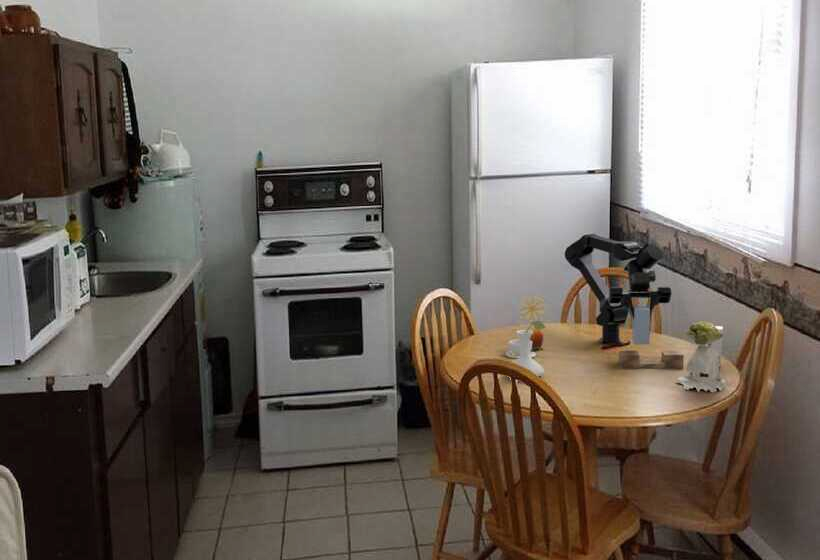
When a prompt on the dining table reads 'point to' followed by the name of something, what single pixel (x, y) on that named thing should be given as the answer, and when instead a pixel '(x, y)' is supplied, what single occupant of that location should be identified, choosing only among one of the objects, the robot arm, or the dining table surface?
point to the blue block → (641, 325)
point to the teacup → (517, 348)
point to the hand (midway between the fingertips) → (641, 317)
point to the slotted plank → (651, 360)
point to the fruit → (536, 338)
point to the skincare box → (718, 344)
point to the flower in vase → (530, 311)
